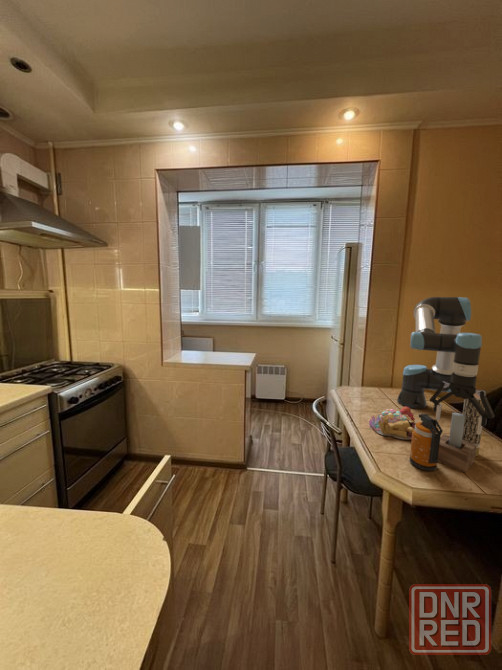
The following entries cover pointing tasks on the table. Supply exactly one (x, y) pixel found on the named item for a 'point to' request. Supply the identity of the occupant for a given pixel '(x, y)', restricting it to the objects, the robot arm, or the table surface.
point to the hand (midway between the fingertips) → (457, 426)
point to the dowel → (456, 430)
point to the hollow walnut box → (456, 454)
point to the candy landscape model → (394, 423)
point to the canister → (425, 443)
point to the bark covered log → (472, 423)
